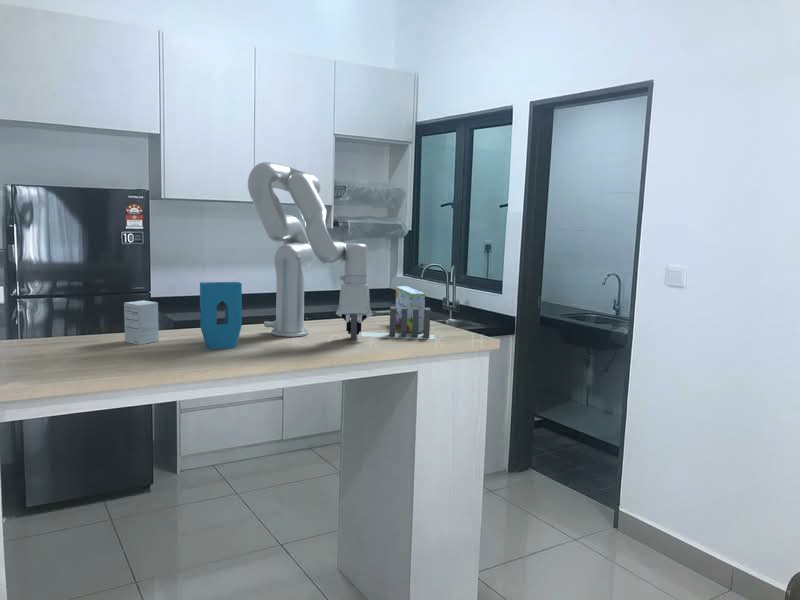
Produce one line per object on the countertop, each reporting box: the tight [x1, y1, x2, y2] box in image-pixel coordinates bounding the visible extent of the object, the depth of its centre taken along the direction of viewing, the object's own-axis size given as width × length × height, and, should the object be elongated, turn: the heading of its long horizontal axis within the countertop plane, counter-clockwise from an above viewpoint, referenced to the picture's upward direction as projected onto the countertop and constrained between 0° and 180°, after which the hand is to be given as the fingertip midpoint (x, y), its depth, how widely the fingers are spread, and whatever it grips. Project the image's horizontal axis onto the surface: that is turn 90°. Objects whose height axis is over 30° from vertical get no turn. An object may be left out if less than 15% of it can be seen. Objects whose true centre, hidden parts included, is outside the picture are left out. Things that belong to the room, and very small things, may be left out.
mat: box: [360, 331, 436, 340], centre depth 223 cm, size 26×8×1 cm, turn 90°
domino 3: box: [400, 307, 408, 337], centre depth 222 cm, size 2×5×10 cm, turn 0°
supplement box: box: [123, 300, 160, 346], centre depth 199 cm, size 7×7×13 cm
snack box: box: [395, 285, 426, 333], centre depth 240 cm, size 21×6×15 cm, turn 17°
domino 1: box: [350, 314, 359, 341], centre depth 215 cm, size 2×5×10 cm, turn 0°
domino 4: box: [411, 307, 419, 339], centre depth 222 cm, size 2×5×10 cm, turn 0°
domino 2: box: [388, 306, 397, 337], centre depth 222 cm, size 2×5×10 cm, turn 0°
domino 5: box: [422, 307, 431, 338], centre depth 222 cm, size 2×5×10 cm, turn 0°
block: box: [199, 281, 243, 350], centre depth 195 cm, size 12×5×20 cm, turn 116°
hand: (353, 333), depth 215 cm, fingers closed on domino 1, 2 cm apart
